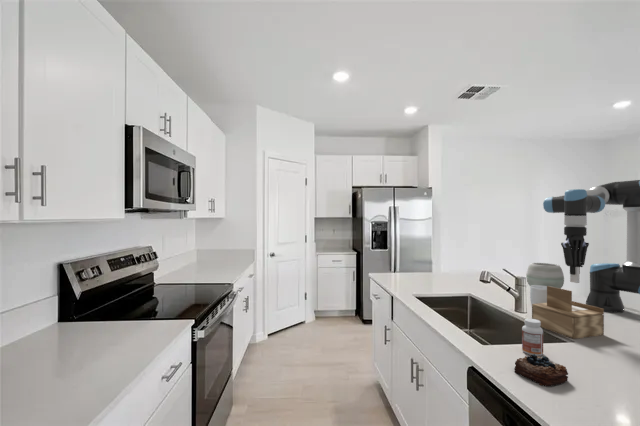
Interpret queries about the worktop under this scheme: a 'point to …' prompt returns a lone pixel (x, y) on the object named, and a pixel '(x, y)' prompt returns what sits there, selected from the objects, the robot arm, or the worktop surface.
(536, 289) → the mug
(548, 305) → the lid
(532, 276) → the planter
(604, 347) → the worktop surface
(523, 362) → the pastry
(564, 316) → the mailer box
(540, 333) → the pill bottle
